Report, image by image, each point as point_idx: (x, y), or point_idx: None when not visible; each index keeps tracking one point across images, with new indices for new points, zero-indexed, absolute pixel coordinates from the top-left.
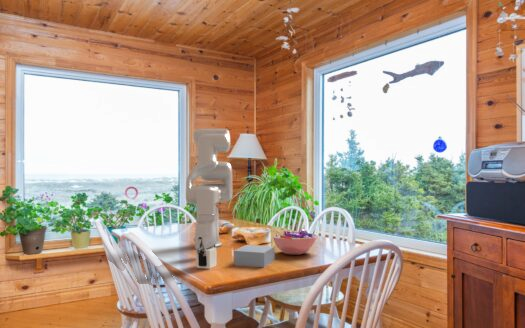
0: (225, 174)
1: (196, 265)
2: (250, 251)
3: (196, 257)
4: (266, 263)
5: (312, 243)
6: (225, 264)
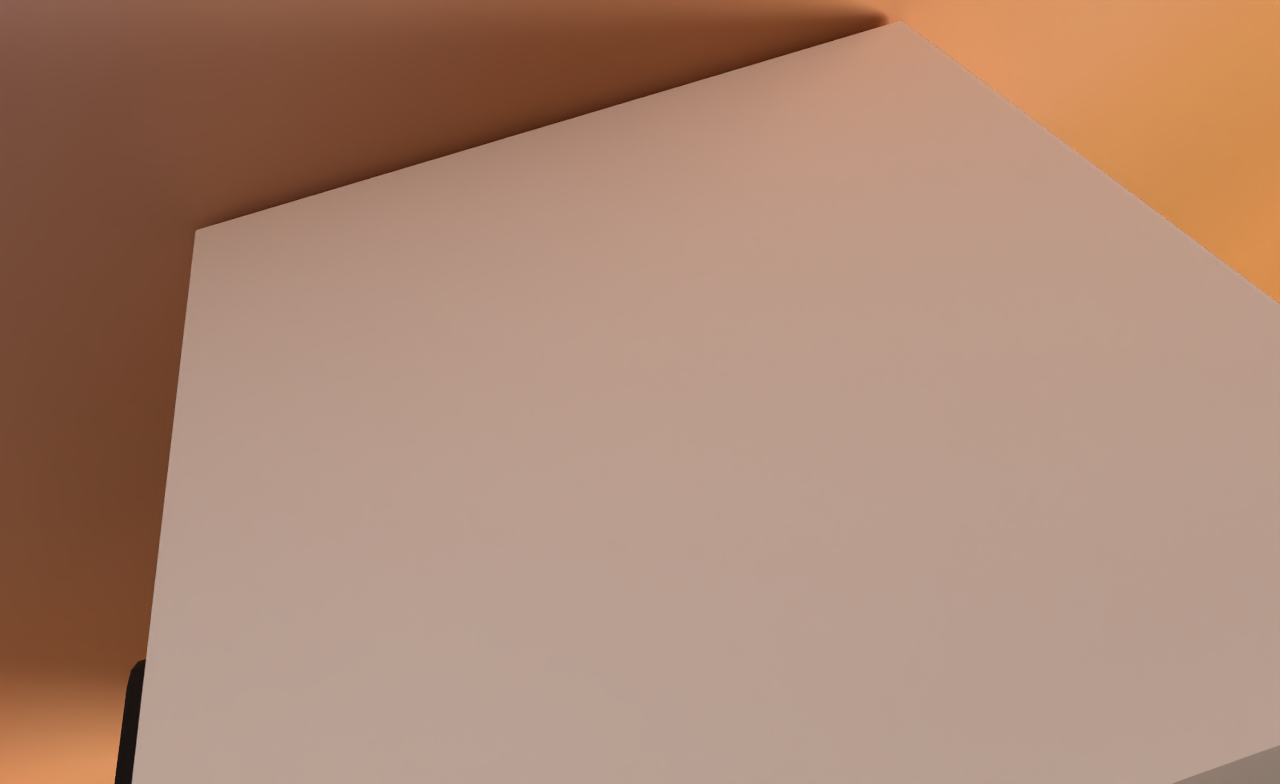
0: None
1: (202, 297)
2: None
3: (175, 591)
4: None
5: None
6: None
